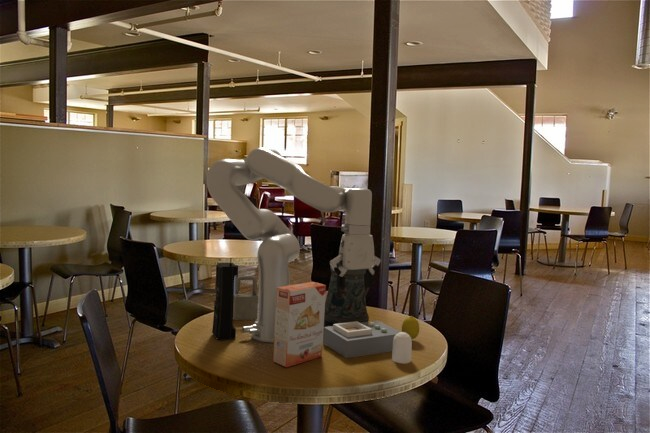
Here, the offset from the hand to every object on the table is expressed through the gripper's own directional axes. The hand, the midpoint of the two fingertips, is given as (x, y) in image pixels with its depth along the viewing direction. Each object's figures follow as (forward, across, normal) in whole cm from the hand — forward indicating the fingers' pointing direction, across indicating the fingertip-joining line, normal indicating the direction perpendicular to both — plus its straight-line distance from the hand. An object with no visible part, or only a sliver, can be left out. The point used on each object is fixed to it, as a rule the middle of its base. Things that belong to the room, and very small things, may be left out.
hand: (354, 288), depth 156 cm
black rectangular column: (+18, -32, +24) cm, 44 cm away
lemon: (+18, +21, -1) cm, 28 cm away
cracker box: (+18, -19, -3) cm, 27 cm away
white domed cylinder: (+18, +8, -14) cm, 24 cm away
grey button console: (+18, +4, 0) cm, 19 cm away
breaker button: (+16, 0, 0) cm, 16 cm away
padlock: (+18, -19, +40) cm, 48 cm away
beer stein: (+18, +11, +22) cm, 31 cm away
